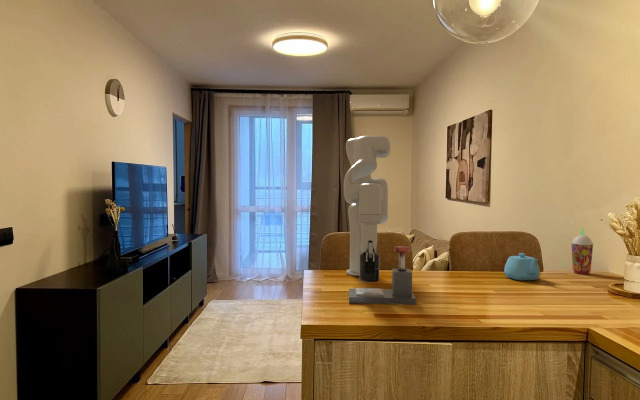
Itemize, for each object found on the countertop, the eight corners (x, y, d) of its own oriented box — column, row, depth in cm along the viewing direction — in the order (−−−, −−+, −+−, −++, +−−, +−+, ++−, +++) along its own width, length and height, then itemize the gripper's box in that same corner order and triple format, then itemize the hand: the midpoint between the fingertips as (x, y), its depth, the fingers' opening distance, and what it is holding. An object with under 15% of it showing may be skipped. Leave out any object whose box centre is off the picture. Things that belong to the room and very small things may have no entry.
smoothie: (567, 271, 194) (568, 227, 194) (586, 271, 193) (587, 228, 193) (575, 275, 186) (576, 229, 186) (596, 275, 185) (597, 229, 184)
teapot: (524, 257, 167) (497, 251, 185) (524, 284, 168) (497, 275, 185) (552, 256, 170) (523, 250, 187) (552, 283, 170) (522, 274, 188)
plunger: (393, 278, 147) (393, 245, 147) (408, 279, 147) (408, 246, 146) (395, 282, 142) (395, 248, 142) (410, 282, 142) (410, 248, 141)
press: (348, 294, 152) (349, 266, 152) (411, 295, 150) (411, 267, 150) (348, 303, 140) (348, 273, 140) (416, 304, 138) (416, 274, 138)
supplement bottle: (378, 282, 141) (378, 247, 141) (358, 282, 142) (358, 246, 142) (380, 278, 148) (380, 244, 148) (360, 277, 149) (360, 243, 149)
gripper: (358, 217, 154) (358, 266, 154) (359, 221, 136) (359, 276, 137) (379, 217, 153) (378, 267, 153) (382, 221, 136) (382, 276, 136)
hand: (369, 271), depth 145 cm, fingers closed on supplement bottle, 6 cm apart
